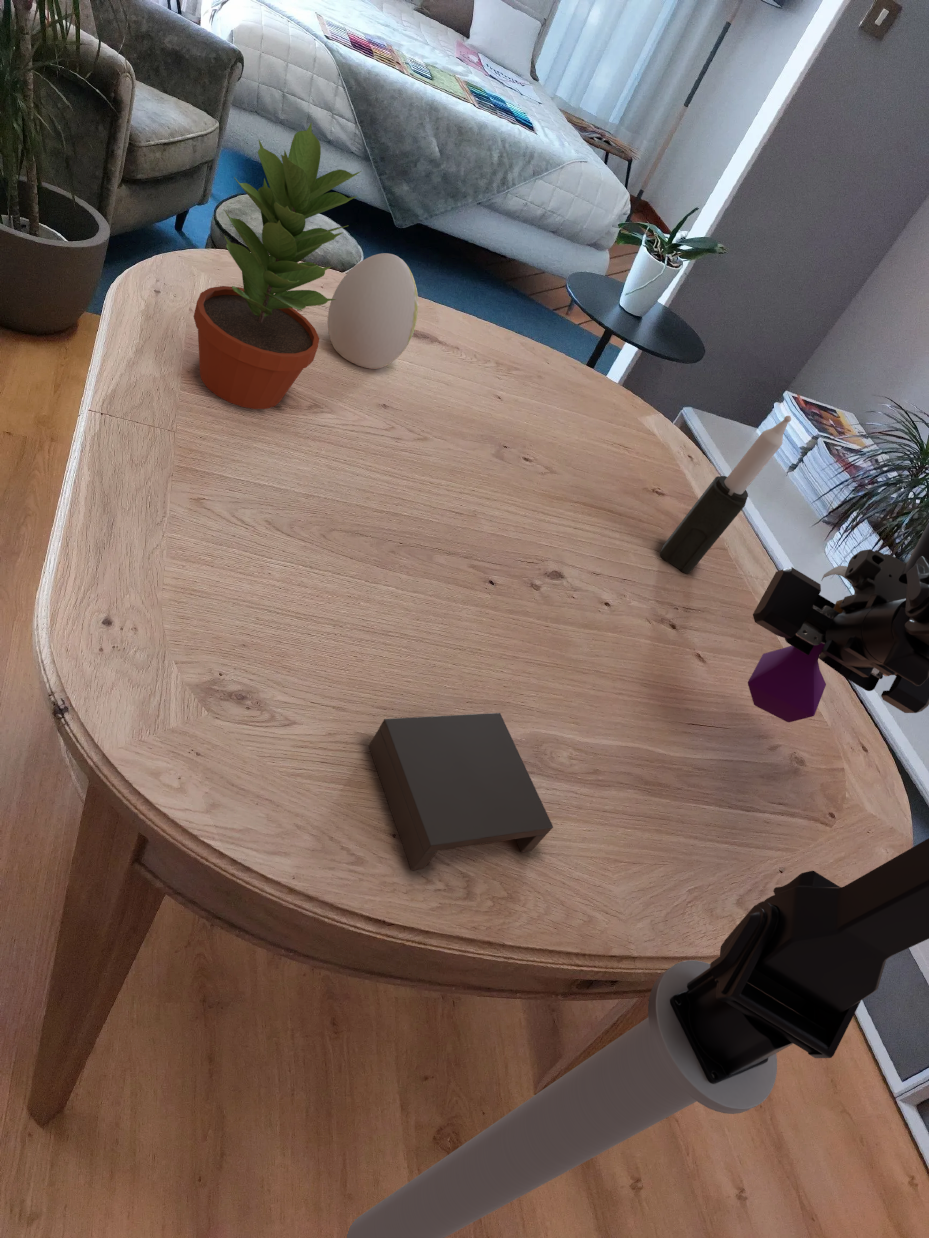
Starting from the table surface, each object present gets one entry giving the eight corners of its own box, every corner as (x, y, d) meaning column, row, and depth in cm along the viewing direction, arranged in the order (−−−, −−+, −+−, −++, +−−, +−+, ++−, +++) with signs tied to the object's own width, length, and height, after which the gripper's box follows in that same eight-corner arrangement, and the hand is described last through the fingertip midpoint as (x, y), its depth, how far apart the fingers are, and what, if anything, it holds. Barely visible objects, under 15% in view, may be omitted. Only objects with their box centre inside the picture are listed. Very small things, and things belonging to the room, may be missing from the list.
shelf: (531, 850, 73) (553, 827, 71) (411, 870, 67) (430, 845, 64) (482, 737, 80) (500, 712, 77) (368, 745, 73) (384, 718, 71)
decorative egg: (413, 373, 126) (454, 282, 117) (357, 382, 117) (396, 283, 108) (360, 326, 129) (395, 233, 120) (301, 331, 120) (334, 231, 111)
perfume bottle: (813, 705, 96) (892, 575, 86) (800, 738, 90) (883, 603, 80) (751, 674, 99) (821, 544, 89) (735, 705, 93) (807, 569, 83)
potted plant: (204, 419, 96) (275, 154, 77) (166, 343, 103) (223, 85, 85) (320, 427, 105) (409, 191, 86) (277, 356, 113) (351, 126, 94)
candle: (694, 560, 123) (808, 421, 107) (688, 576, 119) (805, 433, 103) (665, 541, 123) (774, 399, 107) (658, 556, 119) (770, 411, 103)
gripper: (1017, 611, 77) (913, 627, 92) (844, 506, 77) (769, 540, 92) (964, 716, 75) (868, 715, 91) (788, 609, 75) (721, 626, 91)
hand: (808, 646), depth 91 cm, fingers closed on perfume bottle, 3 cm apart
